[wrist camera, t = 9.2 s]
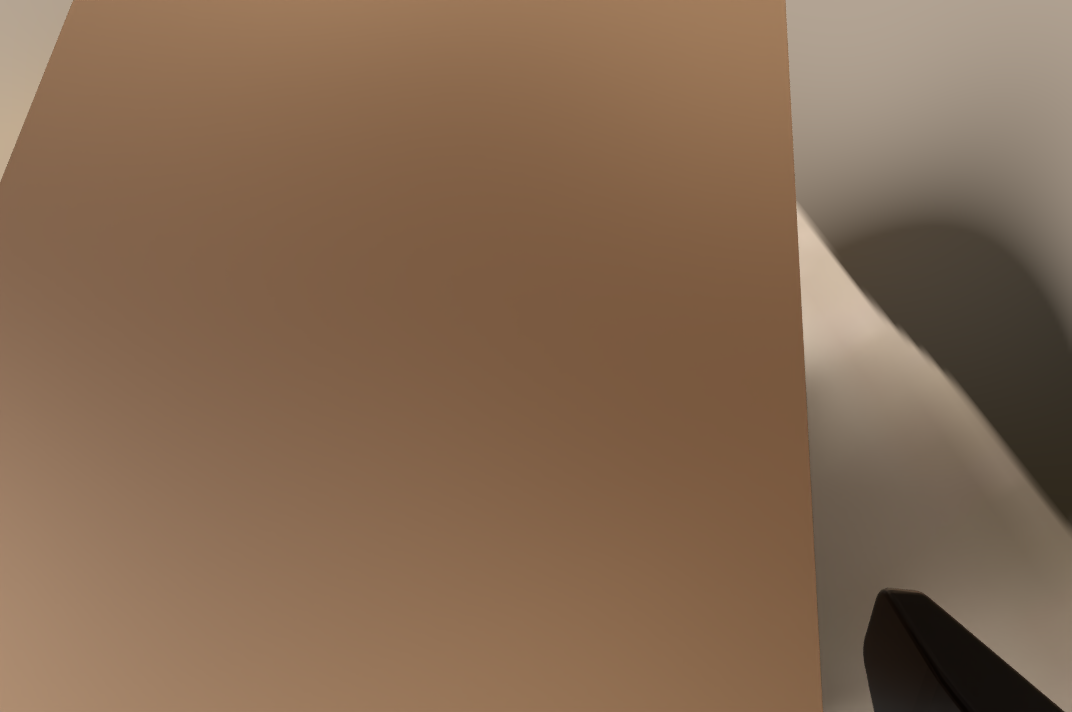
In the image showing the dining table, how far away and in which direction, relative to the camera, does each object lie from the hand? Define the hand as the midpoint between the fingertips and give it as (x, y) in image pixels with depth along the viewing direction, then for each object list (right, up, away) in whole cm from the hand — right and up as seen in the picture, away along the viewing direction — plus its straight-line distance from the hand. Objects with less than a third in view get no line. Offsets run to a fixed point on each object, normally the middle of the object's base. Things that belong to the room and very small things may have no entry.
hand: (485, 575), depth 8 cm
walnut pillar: (+1, -2, +8) cm, 8 cm away
